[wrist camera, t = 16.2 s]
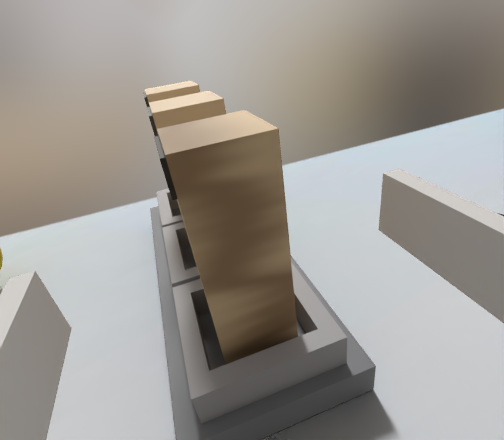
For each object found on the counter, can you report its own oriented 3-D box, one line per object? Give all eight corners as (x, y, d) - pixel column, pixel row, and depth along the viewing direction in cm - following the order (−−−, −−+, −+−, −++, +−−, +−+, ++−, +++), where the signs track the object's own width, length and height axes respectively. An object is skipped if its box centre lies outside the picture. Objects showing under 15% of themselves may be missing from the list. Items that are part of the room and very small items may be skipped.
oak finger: (272, 299, 21) (244, 109, 14) (299, 348, 17) (278, 128, 11) (209, 321, 20) (152, 130, 14) (225, 377, 16) (158, 156, 10)
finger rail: (239, 200, 38) (217, 72, 31) (373, 389, 17) (399, 124, 10) (155, 224, 36) (109, 92, 29) (188, 471, 15) (49, 212, 8)
